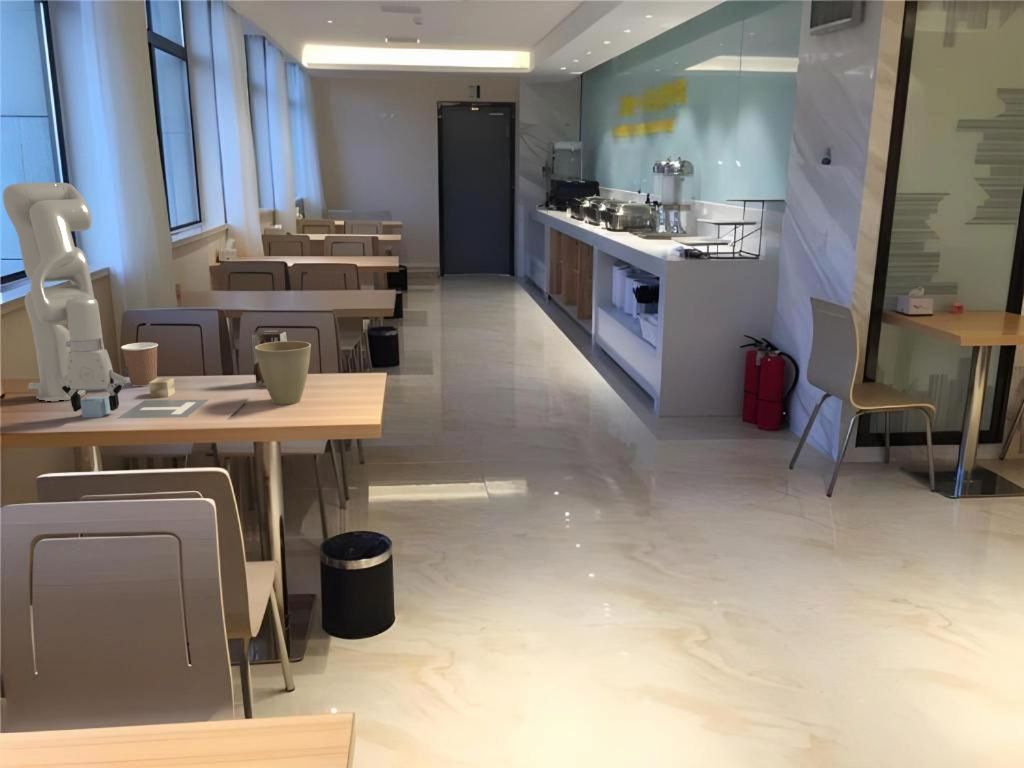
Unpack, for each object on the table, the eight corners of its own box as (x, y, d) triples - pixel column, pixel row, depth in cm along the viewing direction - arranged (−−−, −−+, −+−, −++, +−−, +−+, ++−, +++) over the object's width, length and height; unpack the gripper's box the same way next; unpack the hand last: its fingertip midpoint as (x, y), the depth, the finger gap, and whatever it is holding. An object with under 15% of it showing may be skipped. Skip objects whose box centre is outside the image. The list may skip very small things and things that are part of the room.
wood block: (151, 399, 237) (149, 382, 236) (158, 395, 242) (156, 378, 241) (168, 399, 237) (166, 382, 236) (175, 394, 242) (173, 378, 241)
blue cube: (82, 420, 217) (80, 401, 216) (91, 414, 222) (89, 396, 221) (102, 419, 217) (99, 401, 216) (110, 414, 222) (108, 396, 221)
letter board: (117, 420, 216) (116, 418, 216) (144, 402, 234) (144, 400, 233) (187, 419, 217) (186, 417, 216) (209, 401, 234) (209, 399, 234)
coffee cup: (139, 379, 261) (135, 341, 258) (169, 380, 259) (164, 342, 256) (118, 387, 251) (113, 348, 248) (148, 388, 249) (144, 349, 246)
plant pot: (305, 408, 226) (301, 351, 222) (251, 408, 227) (246, 350, 223) (321, 394, 240) (317, 340, 237) (270, 394, 241) (266, 340, 237)
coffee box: (292, 381, 256) (288, 329, 253) (284, 386, 250) (280, 333, 246) (263, 381, 257) (259, 329, 253) (255, 386, 251) (250, 333, 247)
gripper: (46, 349, 211) (55, 414, 215) (114, 347, 212) (123, 412, 216) (60, 343, 219) (69, 406, 223) (127, 342, 219) (135, 405, 223)
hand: (96, 409), depth 219 cm, fingers open, 9 cm apart
